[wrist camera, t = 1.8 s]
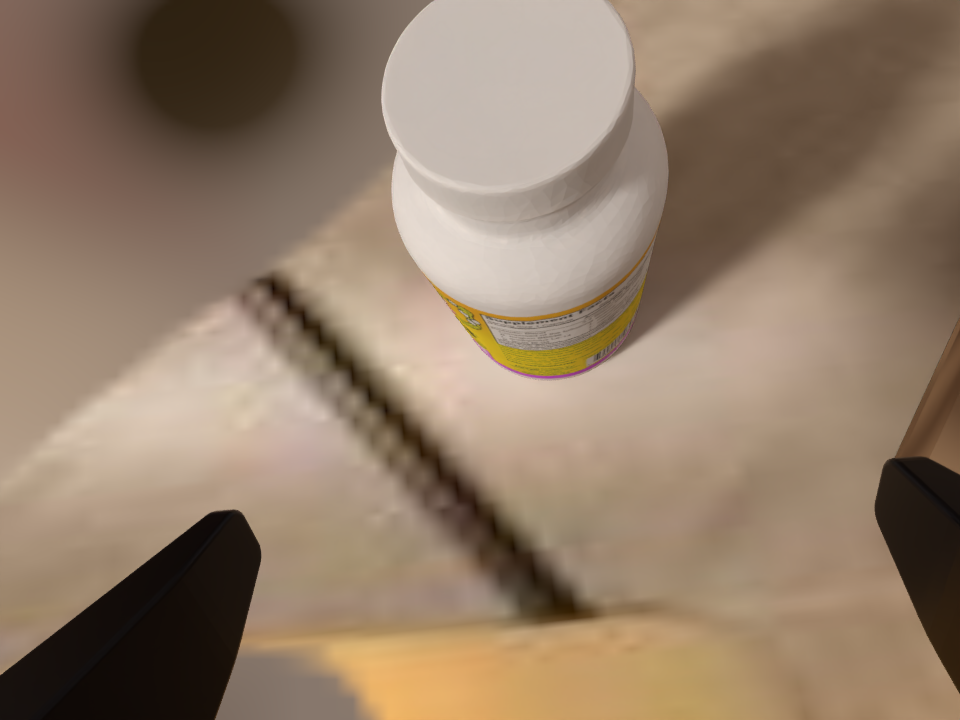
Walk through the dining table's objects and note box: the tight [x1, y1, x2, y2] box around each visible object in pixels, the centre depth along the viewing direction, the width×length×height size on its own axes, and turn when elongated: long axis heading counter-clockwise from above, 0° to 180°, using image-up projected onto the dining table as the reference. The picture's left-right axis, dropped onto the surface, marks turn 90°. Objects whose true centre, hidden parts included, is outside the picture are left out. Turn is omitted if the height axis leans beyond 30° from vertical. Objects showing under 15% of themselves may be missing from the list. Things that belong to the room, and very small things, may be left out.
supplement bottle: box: [382, 0, 669, 381], centre depth 17 cm, size 7×7×13 cm
